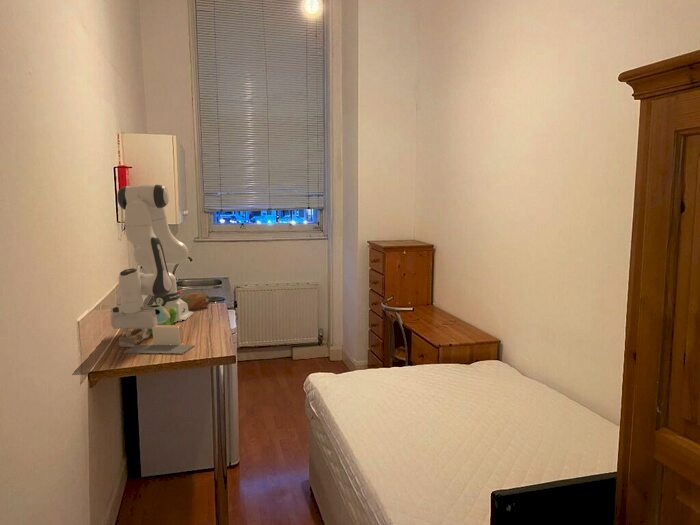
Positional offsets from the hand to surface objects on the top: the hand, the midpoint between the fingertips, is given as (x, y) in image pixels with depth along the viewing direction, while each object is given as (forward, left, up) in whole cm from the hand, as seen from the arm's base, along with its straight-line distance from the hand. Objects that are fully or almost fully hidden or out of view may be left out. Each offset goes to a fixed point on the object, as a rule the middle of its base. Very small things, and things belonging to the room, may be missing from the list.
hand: (136, 338), depth 227 cm
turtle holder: (-18, 0, -2) cm, 18 cm away
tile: (+3, +17, -2) cm, 17 cm away
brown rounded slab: (-61, -3, -2) cm, 61 cm away
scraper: (-1, 0, -2) cm, 2 cm away
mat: (+11, +17, -2) cm, 20 cm away
